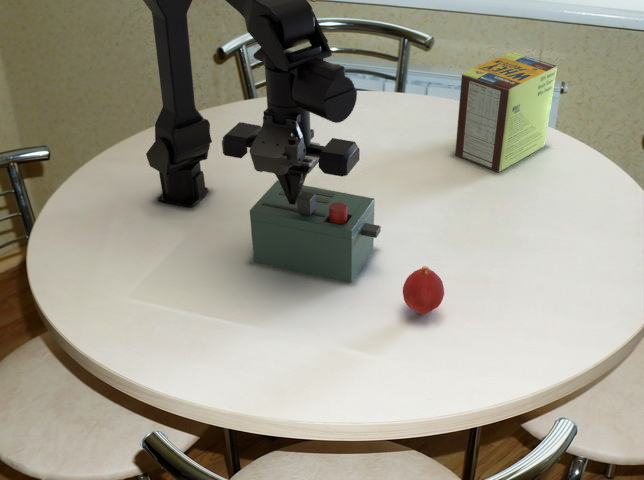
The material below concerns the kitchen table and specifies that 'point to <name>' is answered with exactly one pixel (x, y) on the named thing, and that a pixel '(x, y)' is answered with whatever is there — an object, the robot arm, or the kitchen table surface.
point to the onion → (423, 290)
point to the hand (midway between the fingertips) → (293, 203)
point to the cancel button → (338, 213)
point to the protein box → (504, 110)
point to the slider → (306, 203)
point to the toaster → (313, 234)
